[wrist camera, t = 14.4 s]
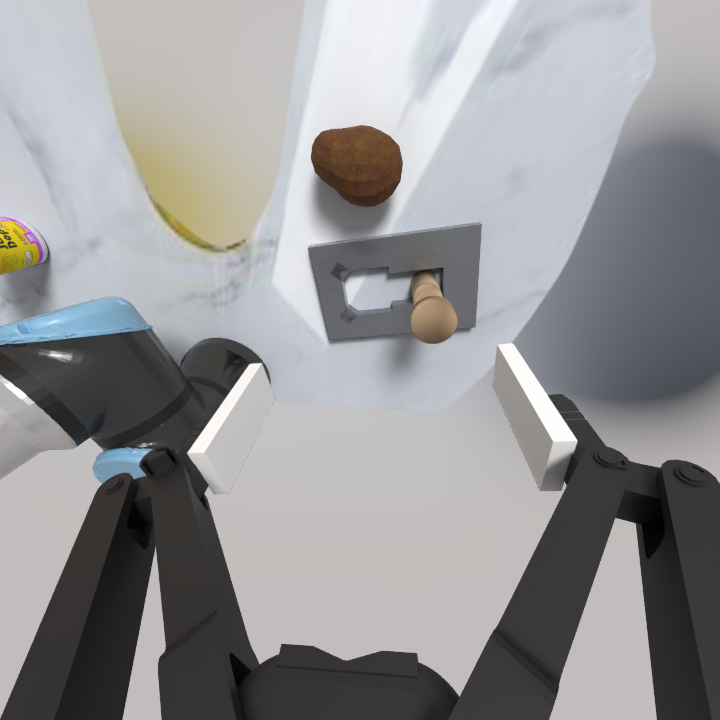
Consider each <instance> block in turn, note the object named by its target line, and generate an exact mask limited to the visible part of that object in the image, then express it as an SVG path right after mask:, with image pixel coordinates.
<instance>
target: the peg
mask: <svg viewBox="0 0 720 720" xmlns="http://www.w3.org/2000/svg"><path fill="white" fill-rule="evenodd" d="M411 288H412V295H413V302H414V307H413V308H412V311H411V315H410V320H411V328H412V332H413V334H414V335H415V336H416V338H418V339H419V340H420V341H422V342H425V343H429V344H436V343H440V342H443V341H445V340H447V339H448V338H450V337H451V336H452V335H453V333H454V332H455V330H456V328H457V316H456V313H455V311H454V308H453V306H452V304H451V303H450V302H449V301H448V300H447V299H445V298H443V295H442V292H441V290H440V287H439V284H438V282H437V279H436V276H435V275H434V274H433V273H432V272H430V271H420V272H418V273H416V274H415V275H414V276H413V278H412V280H411Z"/></svg>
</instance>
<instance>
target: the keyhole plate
mask: <svg viewBox="0 0 720 720" xmlns="http://www.w3.org/2000/svg"><path fill="white" fill-rule="evenodd" d="M481 227H482V224H480V223H479V222H477V223H470V224H463V225H455V226H448V227H441V228H433V229H426V230H419V231H411V232H404V233H397V234H389V235H382V236H374V237H367V238H360V239H352V240H345V241H338V242H330V243H323V244H316V245H310V246H309V247H308V250H309V254H310V259H311V263H312V268H313V272H314V276H315V281H316V285H317V290H318V294H319V299H320V303H321V307H322V312H323V316H324V321H325V325H326V330H327V334H328V338H329V340H334V339H345V338H357V337H369V336H380V335H392V334H403V333H413V332H412V328H411V320H410V315H411V311H412V308H413V307H414V302H413V299H410V300H400V301H392V308H384V309H374V310H364V311H358V310H356V309H355V308H354V307H352V306H351V305H349V304H348V302H347V296H346V290H345V285H344V279H345V277H346V276H347V275H348V273H349V272H350V271H354V270H362V269H370V268H379V267H387V266H388V267H389V274H391V273H399V272H408V271H416V270H425V269H434V268H442V295H443V298H445V299H447V300H448V301H449V302H450V303H451V304H452V306H453V308H454V311H455V313H456V316H457V328H456V329H461V328H472V327H475V325H476V309H477V293H478V276H479V260H480V244H481Z"/></svg>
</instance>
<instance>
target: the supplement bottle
mask: <svg viewBox="0 0 720 720" xmlns="http://www.w3.org/2000/svg"><path fill="white" fill-rule="evenodd" d="M47 255H48V250H47V246H46V243H45V241H44V239H43V238H42V236H41V235H40V234H39V233H38V232H37V230H36V229H34V228H33V227H32V226H31V225H29V224H28V223H26V222H25V221H23V220H21V219H18V218H14V217H0V275H2V274H5V273H9V272H13V271H16V270H20V269H23V268H27V267H30V266H34V265H37V264H40V263H42V262H44V261H45V260H46V258H47Z"/></svg>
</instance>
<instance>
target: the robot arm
mask: <svg viewBox="0 0 720 720" xmlns="http://www.w3.org/2000/svg"><path fill="white" fill-rule="evenodd" d="M152 328H153V327H152V326H151V325H150V324H148V323H147V322H146V321H145V320H144V319H143V317H142V316H141V315H140V314H139V313H138V311H137V310H136V309H135V307H134V306H133V305H132V304H131V303H130V302H129V301H127V300H125V299H123V298H120V297H105V298H100V299H96V300H92V301H88V302H84V303H80V304H76V305H73V306H69V307H65V308H62V309H58V310H54V311H50V312H47V313H43V314H40V315H36V316H33V317H29V318H26V319H22V320H19V321H16V322H13V323H10V324H6V325H3V326H0V479H2V478H3V477H5V476H6V475H7V474H9V473H10V472H12V471H13V470H15V469H16V468H18V467H19V466H21V465H22V464H24V463H25V462H27V461H28V460H30V459H31V458H33V457H34V456H36V455H37V454H39V453H40V452H44V451H47V450H66V449H74V448H75V447H77V446H79V445H80V444H81V443H83V442H84V441H85V440H87V439H88V438H92V439H93V440H94V441H95V442H96V443H97V444H98V445H99V446H100V447H101V448H102V449H103V452H102V453H100V454H99V455H98V456H97V458H96V461H95V462H94V464H93V470H94V475H95V477H96V478H97V479H98V480H99V481H100V482H101V483H102V485H101V486H100V487H99V489H98V490H97V492H96V494H95V496H94V498H93V501H92V503H91V506H90V508H89V510H88V513H87V515H86V518H85V520H84V522H83V524H82V527H81V529H80V531H79V534H78V536H77V539H76V541H75V543H74V546H73V548H72V550H71V553H70V555H69V558H68V560H67V562H66V565H65V567H64V570H63V572H62V574H61V577H60V579H59V581H58V584H57V586H56V588H55V591H54V593H53V595H52V598H51V600H50V602H49V605H48V607H47V610H46V612H45V614H44V617H43V619H42V622H41V624H40V626H39V629H38V631H37V633H36V636H35V638H34V641H33V643H32V645H31V647H30V650H29V652H28V654H27V657H26V659H25V662H24V664H23V666H22V669H21V671H20V674H19V676H18V678H17V681H16V683H15V685H14V688H13V690H12V692H11V695H10V697H9V700H8V702H7V704H6V707H5V709H4V712H3V714H2V716H1V719H0V720H122V718H123V713H124V708H125V702H126V697H127V692H128V687H129V682H130V677H131V671H132V666H133V661H134V656H135V651H136V645H137V640H138V635H139V630H140V625H141V619H142V613H143V609H144V603H145V598H146V593H147V588H148V582H149V577H150V572H151V566H152V562H153V557H154V551H155V546H156V552H157V562H158V570H159V571H158V572H159V581H160V592H161V602H162V611H163V621H164V631H165V641H166V650H165V652H164V653H163V654H162V655H161V656H160V658H159V662H158V678H159V690H160V703H161V716H162V720H549V718H550V715H551V712H552V709H553V706H554V703H555V700H556V697H557V693H558V689H559V682H560V678H561V675H562V672H563V669H564V666H565V663H566V660H567V657H568V654H569V651H570V648H571V645H572V642H573V640H574V637H575V633H576V631H577V628H578V625H579V622H580V619H581V616H582V613H583V610H584V607H585V605H586V601H587V599H588V596H589V593H590V590H591V587H592V584H593V581H594V578H595V575H596V572H597V570H598V566H599V564H600V561H601V558H602V555H603V552H604V549H605V546H606V543H607V540H608V537H609V535H610V531H611V528H612V525H613V523H614V520H615V518H619V519H622V520H626V521H630V522H633V523H636V529H637V538H638V548H639V557H640V566H641V576H642V584H643V594H644V603H645V612H646V621H647V631H648V640H649V649H650V659H651V668H652V677H653V687H654V696H655V705H656V714H657V720H720V483H719V482H718V481H717V479H716V477H714V476H713V475H712V474H711V473H710V472H708V471H707V470H705V469H703V468H701V467H700V466H698V465H696V464H693V463H690V462H687V461H682V460H668V461H666V462H665V463H663V464H662V466H661V468H658V467H653V466H648V465H643V464H638V463H634V462H631V461H629V460H628V458H627V457H625V456H624V455H623V454H622V453H621V452H619V451H617V450H615V449H613V448H610V447H606V446H605V444H604V443H603V442H602V440H601V439H600V438H599V436H598V435H597V434H596V432H595V431H594V430H593V428H592V427H591V426H590V424H589V423H588V422H587V420H585V418H584V416H583V415H582V414H581V413H580V412H579V410H578V409H577V407H576V406H575V404H574V403H573V402H572V401H571V400H569V399H568V398H566V397H565V396H563V395H562V394H555V395H547V394H546V393H545V391H544V390H543V388H542V387H541V385H540V383H539V382H538V380H537V379H536V377H535V376H534V375H533V373H532V371H531V370H530V368H529V367H528V366H527V364H526V362H525V361H524V359H523V358H522V356H521V355H520V353H519V352H518V351H517V349H516V347H515V346H514V344H513V343H512V344H499V345H497V353H496V362H495V372H494V381H493V388H494V390H495V392H496V394H497V397H498V399H499V401H500V403H501V406H502V408H503V410H504V412H505V415H506V417H507V419H508V421H509V423H510V426H511V428H512V430H513V432H514V434H515V437H516V439H517V441H518V443H519V446H520V448H521V450H522V452H523V455H524V457H525V459H526V461H527V463H528V465H529V468H530V470H531V472H532V475H533V477H534V479H535V481H536V484H537V485H538V488H539V490H540V491H561V490H562V487H563V484H564V481H565V483H566V485H567V487H566V489H565V491H564V493H563V495H562V497H561V499H560V501H559V503H558V505H557V507H556V509H555V511H554V513H553V515H552V517H551V519H550V521H549V523H548V525H547V527H546V529H545V531H544V533H543V535H542V538H541V539H540V541H539V543H538V546H537V548H536V550H535V551H534V554H533V556H532V558H531V560H530V562H529V564H528V566H527V568H526V570H525V572H524V574H523V576H522V578H521V580H520V582H519V584H518V586H517V588H516V590H515V592H514V594H513V596H512V598H511V600H510V602H509V604H508V606H507V608H506V610H505V612H504V614H503V616H502V618H501V620H500V622H499V624H498V626H497V627H496V629H495V630H494V631H493V633H492V634H491V636H490V638H489V640H488V642H487V644H486V646H485V647H484V649H483V652H482V654H481V655H480V658H479V659H478V661H477V663H476V665H475V667H474V670H473V671H472V673H471V675H470V677H469V679H468V682H467V683H466V685H465V688H464V690H463V691H462V693H461V696H460V697H459V696H458V694H457V693H456V692H455V690H454V689H453V688H452V687H451V686H450V685H449V683H448V682H447V681H445V679H444V678H442V677H441V676H440V675H439V674H438V673H436V672H435V671H433V670H432V669H430V668H429V667H427V666H425V665H423V664H421V663H419V662H418V658H417V653H405V652H392V651H380V652H376V653H373V654H370V655H366V656H362V657H359V658H355V659H352V660H348V661H345V660H342V659H340V658H338V657H335V656H333V655H331V654H329V653H327V652H325V651H322V650H320V649H318V648H316V647H314V646H304V645H289V644H281V648H280V653H279V654H278V655H276V656H274V657H272V658H269V659H268V660H266V661H265V662H263V663H262V664H260V665H259V662H258V660H257V658H256V655H255V653H254V652H253V650H252V648H251V645H250V642H249V639H248V636H247V632H246V630H245V626H244V622H243V619H242V616H241V612H240V609H239V605H238V602H237V598H236V595H235V592H234V588H233V585H232V581H231V578H230V574H229V571H228V568H227V564H226V561H225V558H224V554H223V551H222V547H221V544H220V541H219V537H218V534H217V530H216V527H215V524H214V520H213V517H212V513H211V510H210V506H209V503H208V499H207V497H206V496H205V494H204V493H205V491H206V489H207V487H208V486H209V488H210V489H211V491H212V492H213V494H229V493H230V491H231V489H232V487H233V485H234V483H235V481H236V479H237V477H238V475H239V472H240V470H241V469H242V466H243V464H244V462H245V460H246V458H247V456H248V454H249V452H250V450H251V448H252V446H253V444H254V442H255V439H256V438H257V436H258V434H259V432H260V430H261V427H262V426H263V424H264V421H265V419H266V417H267V415H268V413H269V411H270V409H271V407H272V405H273V403H274V401H275V396H274V394H273V391H272V388H271V386H270V376H269V372H268V370H267V368H266V366H265V364H264V363H263V361H262V360H261V359H260V358H259V357H258V356H257V355H256V354H255V353H254V352H253V351H252V350H250V349H249V348H247V347H246V346H244V345H242V344H240V343H238V342H235V341H232V340H229V339H223V338H209V339H205V340H202V341H200V342H198V343H197V344H195V345H194V346H193V347H192V348H191V349H190V350H189V351H188V352H187V353H186V354H185V355H184V357H183V359H182V361H181V364H180V368H179V366H178V365H177V364H176V362H175V361H174V360H173V358H172V357H171V355H170V354H169V353H168V351H167V350H166V348H165V347H164V346H163V344H162V343H161V341H160V340H159V338H158V337H157V335H156V334H155V333H154V331H153V330H152Z"/></svg>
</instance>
